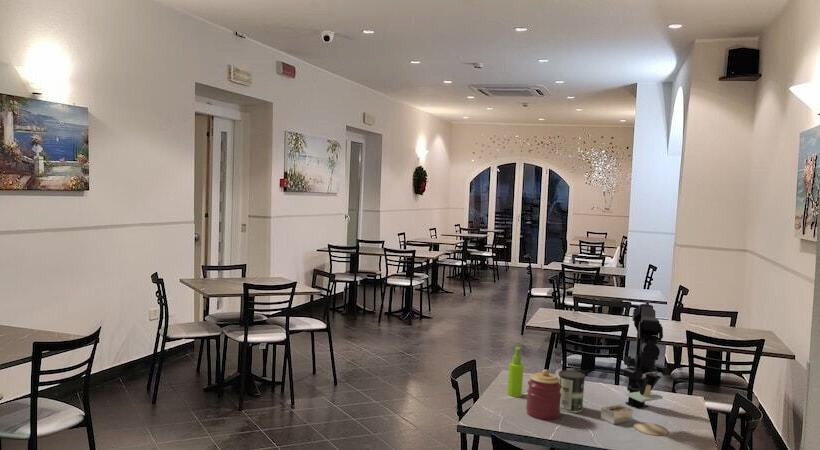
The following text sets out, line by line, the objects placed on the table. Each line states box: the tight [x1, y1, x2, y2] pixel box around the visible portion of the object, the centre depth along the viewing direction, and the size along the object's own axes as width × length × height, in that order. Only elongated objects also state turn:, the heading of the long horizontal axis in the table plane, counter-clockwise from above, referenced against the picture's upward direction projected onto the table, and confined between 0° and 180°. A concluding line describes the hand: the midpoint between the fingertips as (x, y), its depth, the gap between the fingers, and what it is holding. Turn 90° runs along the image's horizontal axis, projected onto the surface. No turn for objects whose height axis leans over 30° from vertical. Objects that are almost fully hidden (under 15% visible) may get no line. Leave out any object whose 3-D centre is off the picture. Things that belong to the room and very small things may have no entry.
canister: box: [525, 369, 562, 420], centre depth 247 cm, size 13×13×18 cm
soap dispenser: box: [507, 346, 525, 398], centre depth 270 cm, size 6×7×20 cm
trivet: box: [633, 421, 669, 437], centre depth 238 cm, size 12×12×1 cm
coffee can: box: [558, 369, 586, 414], centre depth 256 cm, size 10×10×14 cm
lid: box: [625, 384, 664, 403], centre depth 239 cm, size 11×8×6 cm
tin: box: [600, 404, 634, 426], centre depth 246 cm, size 10×6×4 cm, turn 120°
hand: (644, 394), depth 239 cm, fingers closed on lid, 3 cm apart
